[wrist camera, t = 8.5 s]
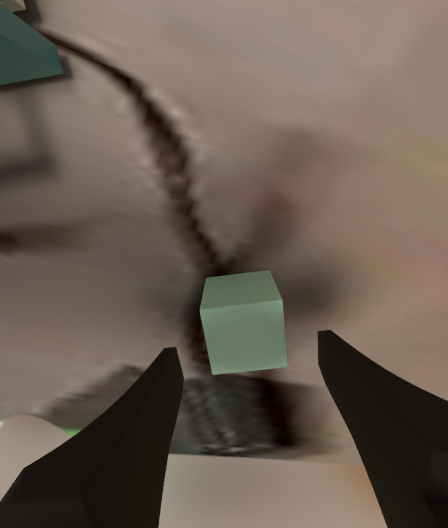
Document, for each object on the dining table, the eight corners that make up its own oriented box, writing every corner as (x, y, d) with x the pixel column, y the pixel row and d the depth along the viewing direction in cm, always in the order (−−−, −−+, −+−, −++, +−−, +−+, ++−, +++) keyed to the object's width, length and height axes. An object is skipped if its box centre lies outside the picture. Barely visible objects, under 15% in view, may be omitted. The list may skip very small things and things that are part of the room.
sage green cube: (215, 330, 19) (212, 375, 15) (206, 277, 17) (199, 310, 13) (274, 324, 18) (287, 367, 14) (269, 269, 17) (282, 299, 13)
